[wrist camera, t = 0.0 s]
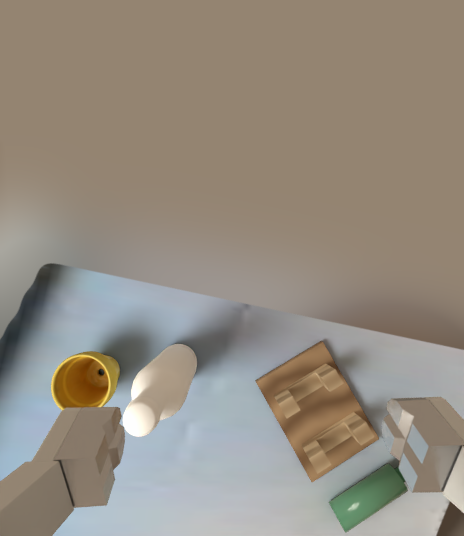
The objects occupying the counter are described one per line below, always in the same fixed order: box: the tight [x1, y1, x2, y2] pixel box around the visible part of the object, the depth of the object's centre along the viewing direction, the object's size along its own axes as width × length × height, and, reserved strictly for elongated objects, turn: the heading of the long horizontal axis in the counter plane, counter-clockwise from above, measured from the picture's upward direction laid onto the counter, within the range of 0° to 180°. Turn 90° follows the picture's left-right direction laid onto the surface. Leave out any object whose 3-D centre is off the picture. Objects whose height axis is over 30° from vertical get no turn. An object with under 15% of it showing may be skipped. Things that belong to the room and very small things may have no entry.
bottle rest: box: [255, 341, 379, 482], centre depth 59 cm, size 22×16×6 cm
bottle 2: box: [329, 463, 408, 532], centre depth 58 cm, size 21×5×5 cm, turn 120°
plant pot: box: [51, 351, 120, 411], centre depth 56 cm, size 10×10×10 cm
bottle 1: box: [123, 344, 197, 437], centre depth 47 cm, size 8×8×30 cm
